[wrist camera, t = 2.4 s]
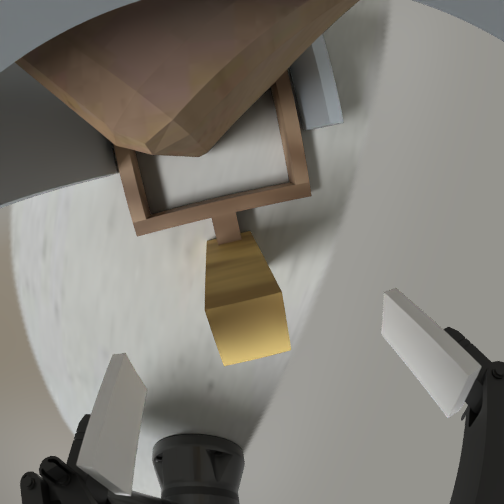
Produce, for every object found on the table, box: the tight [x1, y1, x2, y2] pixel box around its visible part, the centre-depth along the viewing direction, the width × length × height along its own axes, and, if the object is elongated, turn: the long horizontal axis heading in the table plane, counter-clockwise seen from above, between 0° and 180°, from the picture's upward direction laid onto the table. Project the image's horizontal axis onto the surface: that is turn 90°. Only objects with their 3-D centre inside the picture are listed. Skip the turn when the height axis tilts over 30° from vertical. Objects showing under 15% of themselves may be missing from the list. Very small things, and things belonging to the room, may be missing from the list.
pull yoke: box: [113, 70, 311, 366], centre depth 16 cm, size 26×15×12 cm, turn 12°
